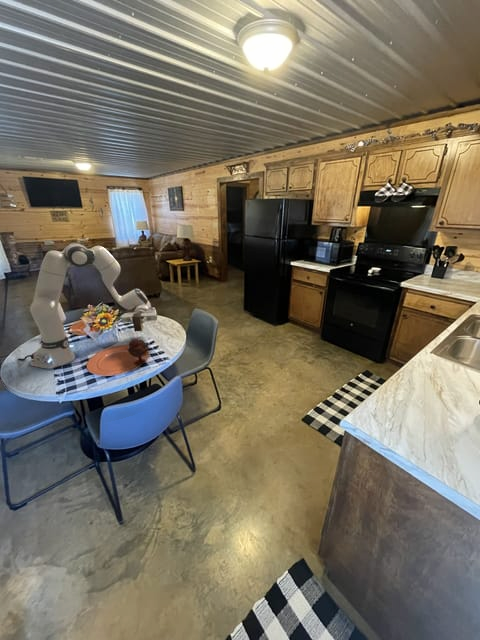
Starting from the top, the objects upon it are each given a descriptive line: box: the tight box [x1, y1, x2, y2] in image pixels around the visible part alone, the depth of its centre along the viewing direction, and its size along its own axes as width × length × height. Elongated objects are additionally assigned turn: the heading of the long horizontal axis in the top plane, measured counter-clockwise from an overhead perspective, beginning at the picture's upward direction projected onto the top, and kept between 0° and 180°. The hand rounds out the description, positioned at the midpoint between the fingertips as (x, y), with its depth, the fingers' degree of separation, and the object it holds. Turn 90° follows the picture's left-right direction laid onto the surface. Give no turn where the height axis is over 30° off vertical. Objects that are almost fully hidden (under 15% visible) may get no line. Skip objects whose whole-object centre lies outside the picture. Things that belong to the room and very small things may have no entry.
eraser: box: [132, 313, 144, 333], centre depth 151 cm, size 4×6×9 cm
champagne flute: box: [57, 301, 71, 338], centre depth 177 cm, size 7×7×24 cm
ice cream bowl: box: [127, 338, 149, 366], centre depth 148 cm, size 11×11×15 cm
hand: (137, 322), depth 150 cm, fingers closed on eraser, 4 cm apart
